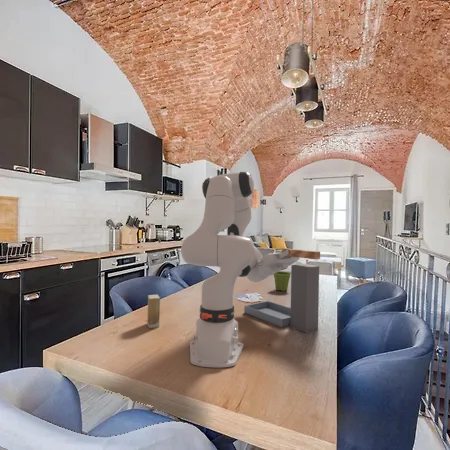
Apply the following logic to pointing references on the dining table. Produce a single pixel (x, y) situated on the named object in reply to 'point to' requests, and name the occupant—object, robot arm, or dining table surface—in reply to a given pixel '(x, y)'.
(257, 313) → the tray
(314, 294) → the post
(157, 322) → the skincare box
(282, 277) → the plant pot
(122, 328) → the dining table surface
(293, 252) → the rectangular block
